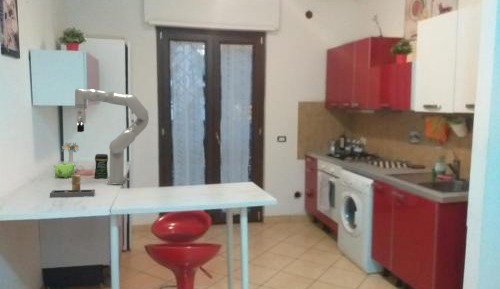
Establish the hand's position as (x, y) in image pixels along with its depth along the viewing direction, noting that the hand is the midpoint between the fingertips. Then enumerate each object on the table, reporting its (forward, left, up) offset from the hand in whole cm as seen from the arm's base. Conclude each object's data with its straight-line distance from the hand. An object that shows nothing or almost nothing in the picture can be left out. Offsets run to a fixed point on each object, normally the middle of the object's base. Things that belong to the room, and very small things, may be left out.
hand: (80, 131), depth 278 cm
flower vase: (+14, -55, -37) cm, 68 cm away
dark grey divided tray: (0, +40, -37) cm, 54 cm away
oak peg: (0, +26, -37) cm, 45 cm away
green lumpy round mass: (+14, -30, -37) cm, 50 cm away
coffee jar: (-12, -25, -37) cm, 46 cm away
